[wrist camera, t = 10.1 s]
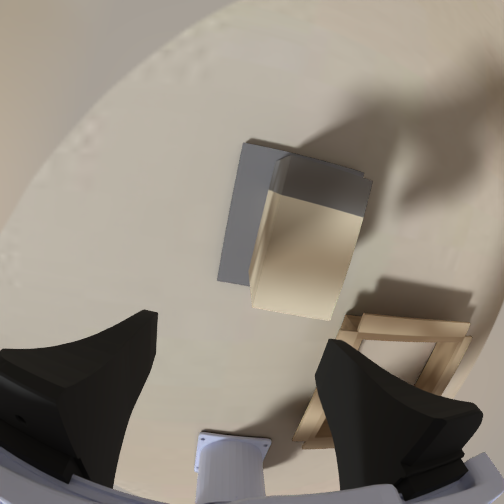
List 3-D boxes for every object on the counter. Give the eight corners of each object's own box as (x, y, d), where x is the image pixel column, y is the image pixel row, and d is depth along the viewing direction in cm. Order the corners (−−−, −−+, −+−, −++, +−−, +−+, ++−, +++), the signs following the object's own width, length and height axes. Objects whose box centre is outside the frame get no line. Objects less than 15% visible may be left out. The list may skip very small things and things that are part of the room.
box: (306, 283, 21) (329, 320, 15) (248, 271, 21) (252, 307, 15) (335, 178, 19) (372, 181, 13) (275, 161, 19) (291, 155, 13)
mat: (330, 296, 22) (331, 299, 22) (217, 278, 21) (217, 280, 21) (361, 172, 20) (363, 172, 19) (243, 143, 19) (243, 142, 18)
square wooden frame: (402, 422, 28) (411, 437, 25) (284, 428, 26) (288, 449, 23) (462, 312, 24) (478, 323, 21) (334, 296, 22) (347, 312, 19)
